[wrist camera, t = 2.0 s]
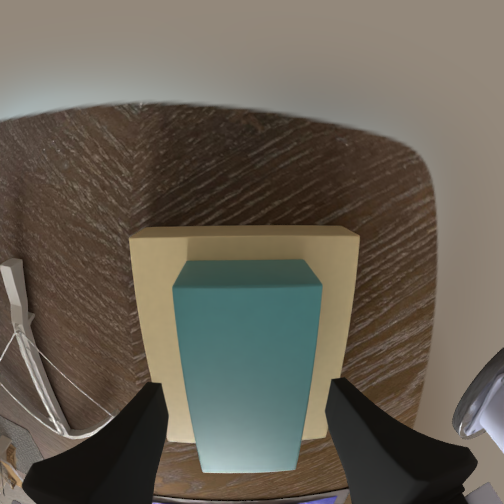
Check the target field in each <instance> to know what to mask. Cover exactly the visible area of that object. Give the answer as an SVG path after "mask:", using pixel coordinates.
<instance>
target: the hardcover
mask: <svg viewBox="0 0 504 504" xmlns="http://www.w3.org/2000/svg"><path fill="white" fill-rule="evenodd" d="M359 242H360V236H359V235H357V234H355V233H354V232H352V231H350V230H348V229H346V228H344V227H343V226H318V225H240V226H177V227H146V228H144V229H143V230H141V231H139V232H138V233H136V234H135V235H133V236H131V237H130V238H129V243H130V253H131V262H132V271H133V279H134V287H135V294H136V301H137V307H138V314H139V320H140V325H141V331H142V336H143V342H144V347H145V352H146V357H147V361H148V366H149V370H150V375H151V379H152V382H155V383H162V388H163V392H164V396H165V401H166V405H167V409H168V413H169V420H168V428H167V438H168V441H173V442H185V443H196V442H195V437H194V433H193V428H192V423H191V418H190V413H189V407H188V402H187V396H186V390H185V385H184V378H183V372H182V366H181V359H180V352H179V345H178V337H177V330H176V321H175V313H174V304H173V294H172V286H173V284H174V282H175V280H176V279H177V277H178V275H179V273H180V271H181V270H182V268H183V266H184V264H185V263H186V261H198V260H290V259H303V260H305V261H306V263H307V264H308V265H309V267H310V268H311V269H312V271H313V272H314V273H315V275H316V276H317V277H318V279H319V280H320V281H321V283H322V285H323V289H322V300H321V310H320V320H319V329H318V337H317V345H316V353H315V361H314V368H313V375H312V382H311V388H310V395H309V401H308V407H307V413H306V419H305V424H304V430H303V435H302V440H308V439H316V438H323V437H326V433H327V429H328V424H327V420H326V415H325V407H326V403H327V398H328V393H329V388H330V383H331V379H335V378H340V374H341V369H342V364H343V359H344V354H345V348H346V343H347V337H348V331H349V325H350V318H351V311H352V304H353V297H354V289H355V281H356V273H357V263H358V253H359Z"/></svg>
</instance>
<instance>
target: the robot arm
mask: <svg viewBox="0 0 504 504" xmlns="http://www.w3.org/2000/svg"><path fill="white" fill-rule="evenodd" d="M325 415H326V420H327V424H328V428H329V431H330V434H331V437H332V439H333V442H334V445H335V447H336V450H337V452H338V455H339V458H340V460H341V463H342V465H343V468H344V471H345V474H346V478H347V483H348V487H349V491H350V496H351V501H352V504H503V503H502V501H501V500H500V498H499V497H498V495H497V493H496V492H495V490H494V489H493V487H492V486H491V484H490V483H489V482H487V483H485V484H484V485H482V486H481V487H479V488H477V489H476V490H474V491H472V492H471V493H469V494H468V495H467V496H465V497H464V495H463V494H462V492H464V491H465V488H464V487H463V485H462V484H463V483H464V482H465V481H466V479H467V478H468V477H469V476H470V475H471V474H472V472H473V471H474V470H475V468H476V466H477V463H478V461H477V459H476V458H475V457H474V455H473V454H472V452H471V451H470V449H469V448H468V447H463V446H458V445H454V444H449V443H445V442H443V441H439V440H436V439H434V438H431V437H428V436H426V435H424V434H421V433H419V432H417V431H415V430H413V429H411V428H409V427H407V426H406V425H404V424H402V423H400V422H399V421H397V420H396V419H394V418H393V417H391V416H390V415H388V414H387V413H386V412H384V411H383V410H381V409H380V408H379V407H378V406H376V405H375V404H374V403H373V402H371V401H370V400H369V399H368V398H367V397H366V396H365V395H363V394H362V393H361V392H360V391H359V390H358V389H357V388H356V387H355V386H354V385H352V384H351V383H350V382H349V381H348V380H347V379H346V378H345V377H343V378H335V379H331V383H330V388H329V393H328V398H327V403H326V407H325ZM168 420H169V413H168V409H167V405H166V401H165V396H164V392H163V388H162V383H155V382H147V383H146V384H145V385H144V387H143V388H142V389H141V390H140V391H139V392H138V393H137V394H136V396H135V397H134V398H133V399H132V400H131V401H130V402H129V403H128V404H127V405H126V406H125V407H124V408H123V410H122V411H121V412H120V413H119V414H118V415H116V416H115V417H114V418H113V419H112V420H111V421H110V422H109V423H108V424H107V425H105V426H104V427H103V428H102V429H101V430H99V431H98V432H97V433H95V434H94V435H93V436H91V437H90V438H88V439H87V440H85V441H83V442H82V443H80V444H78V445H77V446H75V447H73V448H71V449H69V450H67V451H65V452H63V453H61V454H59V455H56V456H54V457H51V458H48V459H45V460H42V461H39V462H36V463H33V464H32V466H31V467H30V469H29V471H28V473H27V475H26V477H25V479H24V481H23V483H22V488H23V490H24V492H25V493H26V494H27V495H28V496H29V497H30V498H31V499H32V500H33V501H34V502H35V503H36V504H152V502H153V492H154V483H155V478H156V473H157V469H158V465H159V461H160V458H161V454H162V450H163V446H164V442H165V439H166V435H167V428H168ZM483 428H484V429H485V430H486V431H487V432H488V434H489V435H490V436H491V438H492V439H493V440H494V441H495V443H496V444H497V445H498V447H499V448H500V449H501V450H502V452H503V453H504V373H502V374H500V375H498V376H497V377H496V378H495V380H494V382H493V384H492V386H491V388H490V390H489V392H488V394H487V396H486V398H485V400H484V402H483V404H482V406H481V407H480V409H479V411H478V413H477V415H476V416H475V418H474V420H473V421H472V423H471V425H470V426H469V428H468V430H467V431H466V435H467V436H469V435H471V434H473V433H475V432H477V431H479V430H481V429H483ZM12 504H21V503H20V502H18V501H16V500H13V501H12Z"/></svg>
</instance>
